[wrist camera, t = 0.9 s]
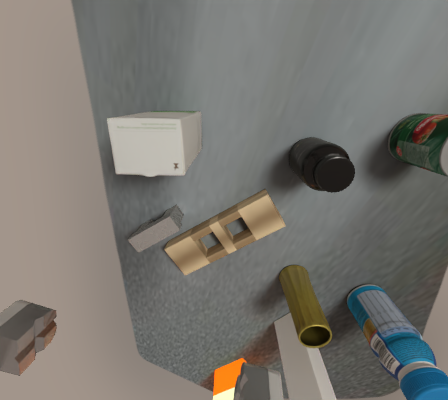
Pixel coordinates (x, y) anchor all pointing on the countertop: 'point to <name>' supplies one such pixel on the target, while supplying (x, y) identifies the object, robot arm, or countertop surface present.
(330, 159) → the supplement bottle
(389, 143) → the canned tomato
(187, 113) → the skincare box
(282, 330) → the milk
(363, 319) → the beverage bottle
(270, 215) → the flat wooden block
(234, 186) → the countertop surface
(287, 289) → the vase
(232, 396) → the orange juice
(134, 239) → the grey concrete brick
